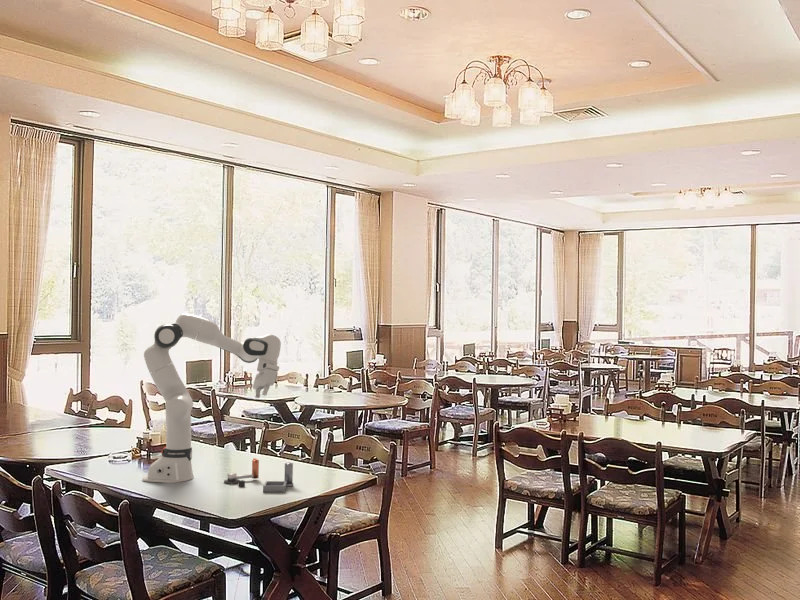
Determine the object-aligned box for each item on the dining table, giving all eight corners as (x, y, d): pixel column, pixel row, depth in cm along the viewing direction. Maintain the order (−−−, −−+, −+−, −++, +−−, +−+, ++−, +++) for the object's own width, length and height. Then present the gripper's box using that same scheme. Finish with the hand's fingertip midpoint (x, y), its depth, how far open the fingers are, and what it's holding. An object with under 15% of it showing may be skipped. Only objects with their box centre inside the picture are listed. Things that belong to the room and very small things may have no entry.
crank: (229, 481, 342) (229, 462, 342) (226, 479, 346) (226, 460, 346) (259, 478, 349) (260, 459, 350) (256, 476, 353) (257, 457, 353)
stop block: (238, 486, 338) (238, 480, 338) (242, 485, 339) (242, 480, 339) (240, 486, 337) (241, 481, 337) (244, 486, 338) (244, 480, 338)
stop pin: (282, 486, 338) (283, 464, 338) (283, 484, 343) (284, 462, 343) (292, 487, 338) (293, 464, 339) (293, 484, 343) (294, 462, 343)
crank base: (222, 484, 341) (222, 482, 341) (225, 480, 348) (225, 478, 348) (238, 484, 341) (238, 482, 341) (240, 480, 348) (241, 479, 348)
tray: (263, 492, 328) (263, 485, 328) (265, 487, 337) (265, 481, 337) (284, 492, 328) (284, 486, 328) (286, 487, 337) (286, 481, 337)
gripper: (253, 370, 369) (247, 397, 364) (268, 363, 352) (262, 392, 347) (265, 373, 372) (259, 401, 367) (280, 366, 355) (274, 395, 350)
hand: (260, 396), depth 357 cm, fingers open, 8 cm apart
